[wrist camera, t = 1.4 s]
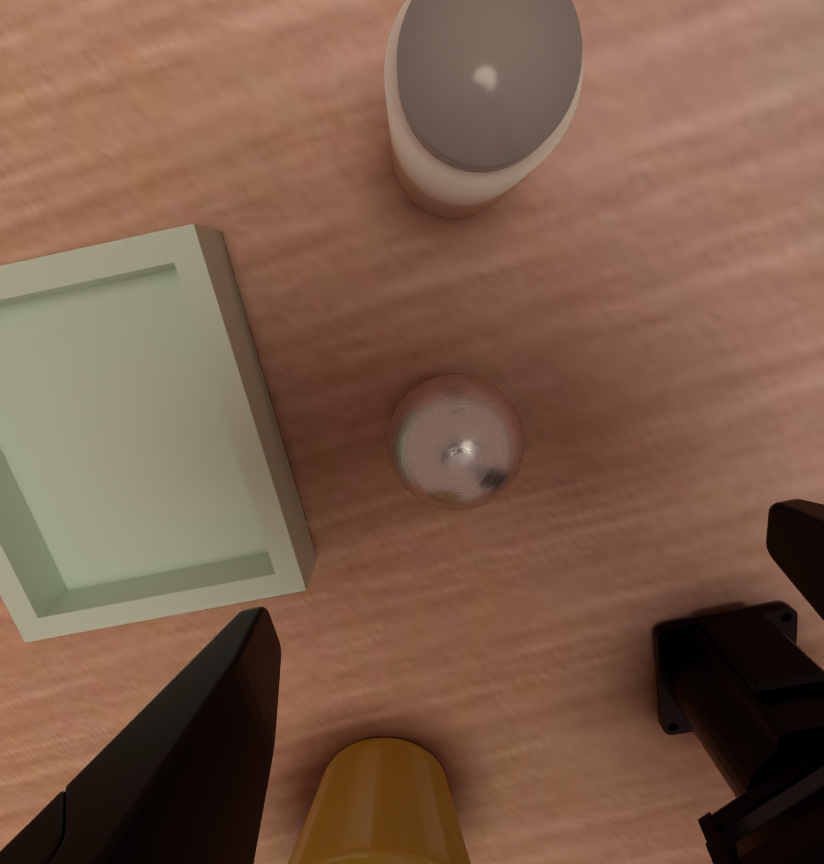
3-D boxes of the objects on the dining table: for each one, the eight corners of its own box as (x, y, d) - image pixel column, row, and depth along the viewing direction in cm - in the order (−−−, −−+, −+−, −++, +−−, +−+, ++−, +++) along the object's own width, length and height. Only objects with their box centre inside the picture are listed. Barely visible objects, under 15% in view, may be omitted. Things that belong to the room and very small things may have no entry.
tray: (316, 557, 22) (306, 590, 20) (64, 604, 23) (25, 642, 20) (220, 231, 18) (193, 223, 16) (-84, 297, 19) (-155, 299, 16)
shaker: (527, 204, 18) (604, 155, 11) (405, 230, 18) (406, 199, 11) (510, 60, 17) (585, -97, 10) (378, 90, 17) (360, -44, 10)
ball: (516, 467, 21) (549, 521, 16) (402, 488, 21) (402, 548, 17) (499, 352, 20) (530, 375, 15) (377, 377, 20) (369, 407, 15)
